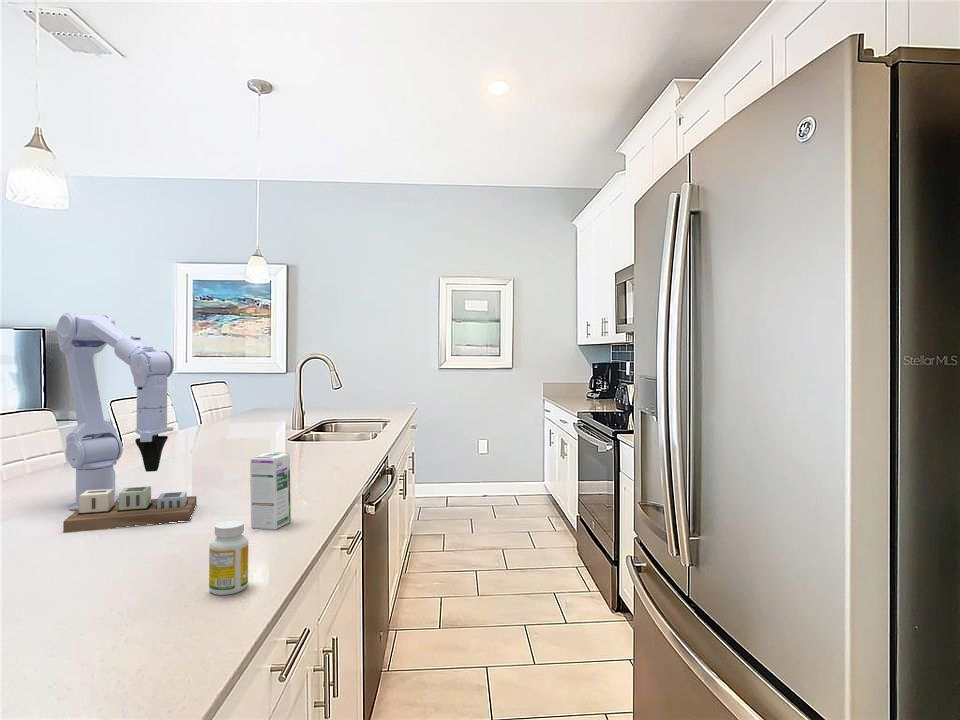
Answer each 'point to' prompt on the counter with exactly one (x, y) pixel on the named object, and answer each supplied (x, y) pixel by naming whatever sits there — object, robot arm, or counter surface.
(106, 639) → the counter surface
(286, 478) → the syrup box
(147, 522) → the frame
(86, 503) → the tile one
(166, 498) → the tile three
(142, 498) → the tile two
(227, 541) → the supplement bottle
